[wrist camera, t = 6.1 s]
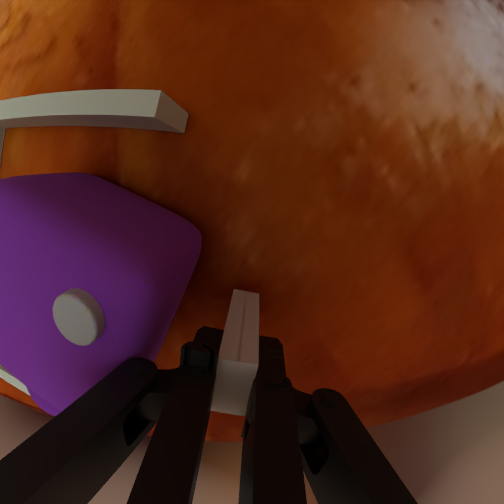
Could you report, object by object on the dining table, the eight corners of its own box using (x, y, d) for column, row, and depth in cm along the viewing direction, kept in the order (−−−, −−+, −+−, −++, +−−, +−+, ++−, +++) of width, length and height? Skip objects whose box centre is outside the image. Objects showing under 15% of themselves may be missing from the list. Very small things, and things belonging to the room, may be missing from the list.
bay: (1, 114, 15) (-41, 110, 10) (188, 113, 15) (161, 90, 10) (4, 335, 20) (-26, 358, 15) (156, 397, 20) (137, 442, 15)
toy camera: (57, 337, 19) (-14, 408, 9) (65, 165, 16) (-55, 173, 6) (178, 384, 20) (139, 493, 10) (217, 199, 16) (158, 232, 7)
